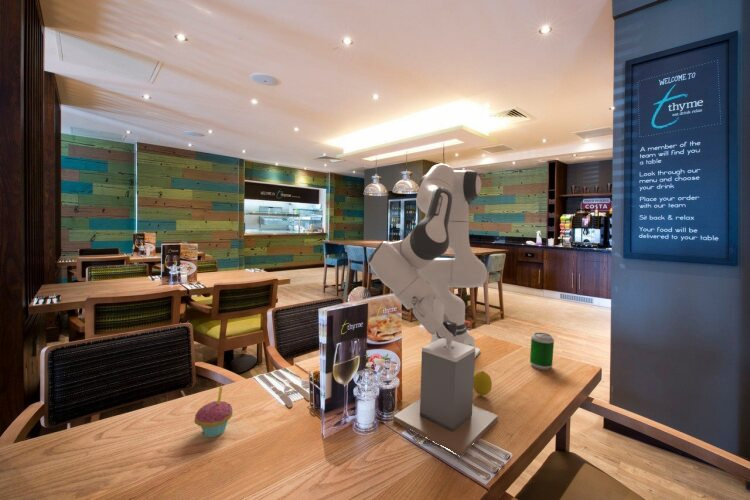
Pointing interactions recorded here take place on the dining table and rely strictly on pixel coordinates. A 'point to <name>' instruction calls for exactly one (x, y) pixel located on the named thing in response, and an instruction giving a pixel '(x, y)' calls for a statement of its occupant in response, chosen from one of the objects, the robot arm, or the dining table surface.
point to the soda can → (541, 351)
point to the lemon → (482, 383)
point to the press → (447, 399)
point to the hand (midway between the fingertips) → (451, 333)
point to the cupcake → (214, 416)
